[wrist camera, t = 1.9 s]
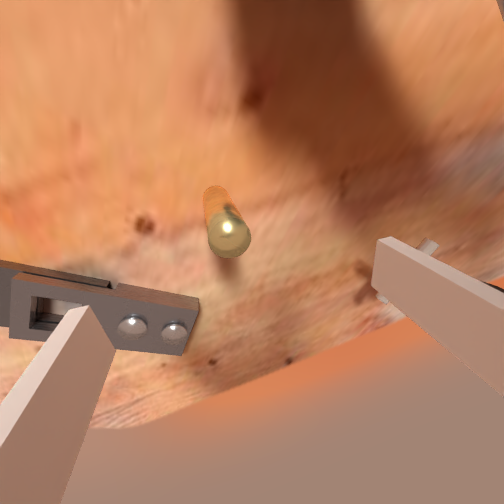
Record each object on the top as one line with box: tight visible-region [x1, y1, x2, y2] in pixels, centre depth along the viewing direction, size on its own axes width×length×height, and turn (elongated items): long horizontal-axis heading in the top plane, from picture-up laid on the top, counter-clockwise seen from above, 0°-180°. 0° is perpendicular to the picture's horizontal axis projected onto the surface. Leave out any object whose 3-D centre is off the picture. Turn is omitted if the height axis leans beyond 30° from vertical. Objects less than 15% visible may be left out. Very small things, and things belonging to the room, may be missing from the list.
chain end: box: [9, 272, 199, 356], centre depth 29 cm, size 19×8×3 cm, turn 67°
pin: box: [203, 186, 251, 258], centre depth 22 cm, size 3×3×12 cm
